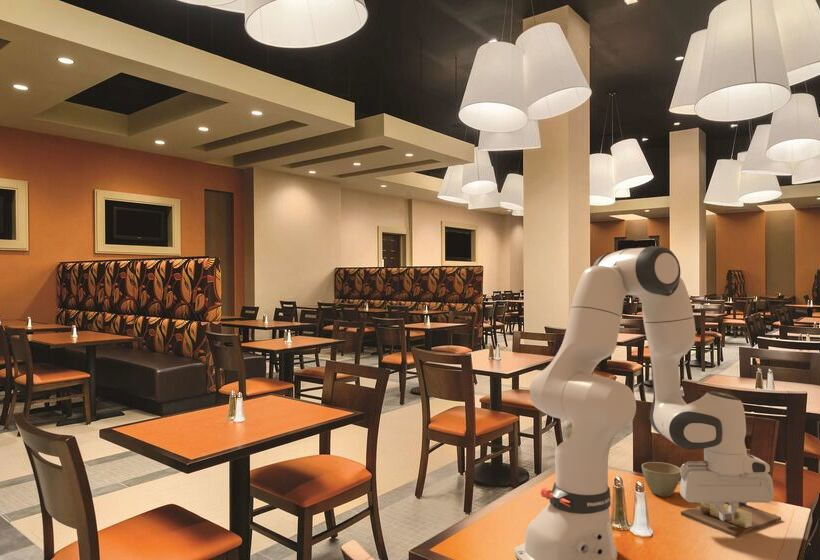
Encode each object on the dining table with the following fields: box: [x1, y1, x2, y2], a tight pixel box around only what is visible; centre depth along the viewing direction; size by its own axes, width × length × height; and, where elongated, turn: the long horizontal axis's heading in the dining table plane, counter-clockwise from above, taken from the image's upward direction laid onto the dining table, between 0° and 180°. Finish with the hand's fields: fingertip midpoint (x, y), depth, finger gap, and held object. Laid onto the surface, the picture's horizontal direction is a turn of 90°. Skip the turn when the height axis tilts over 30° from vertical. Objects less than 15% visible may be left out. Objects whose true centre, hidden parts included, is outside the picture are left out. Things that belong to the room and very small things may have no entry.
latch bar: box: [699, 502, 752, 528], centre depth 134 cm, size 12×4×3 cm, turn 27°
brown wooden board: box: [680, 503, 782, 537], centre depth 136 cm, size 18×14×1 cm
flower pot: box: [641, 461, 681, 497], centre depth 153 cm, size 10×10×7 cm
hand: (726, 519), depth 130 cm, fingers closed
